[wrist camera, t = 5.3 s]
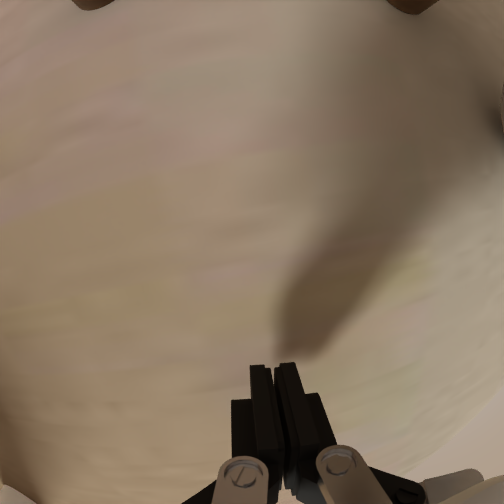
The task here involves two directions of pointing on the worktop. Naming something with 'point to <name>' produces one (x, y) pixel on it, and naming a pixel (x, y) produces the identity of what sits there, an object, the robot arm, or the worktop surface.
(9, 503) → the cylindrical container
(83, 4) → the post
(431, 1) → the post
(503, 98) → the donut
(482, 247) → the worktop surface
